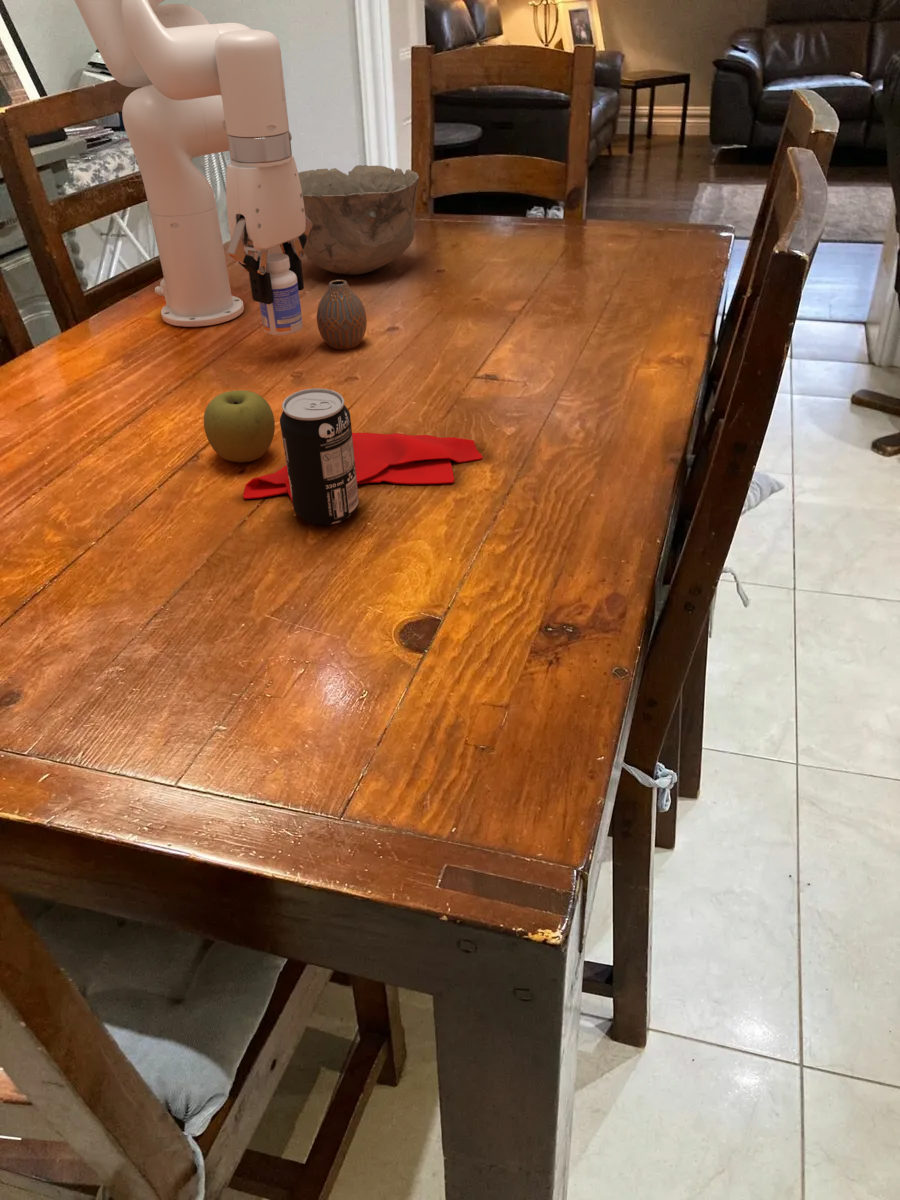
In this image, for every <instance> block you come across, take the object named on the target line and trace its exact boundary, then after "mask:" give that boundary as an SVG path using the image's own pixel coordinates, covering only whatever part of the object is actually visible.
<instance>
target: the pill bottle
mask: <svg viewBox="0 0 900 1200" xmlns="http://www.w3.org/2000/svg"><path fill="white" fill-rule="evenodd" d="M289 268H290V262H289V256H288V255H286V254H283V252H271V253H267V264H266V272H267V273H270V277H271V285H272V292H273V303H271V304H265V303H261V302H258V303H259V309H260V316H261V323H262V328H263V331H264V332H265V333H267V334H269V335H272V336H277V337H278V336H279V337H280V336H291V335H293V334H297V333H298V332H300V331H301V330H302V329H303V327H304V323H303V316H302V307H301V299H300V291H299V290H298V282H297V276H296V274H295V273H294V272H292V271H291V270H289Z"/></svg>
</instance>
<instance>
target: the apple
mask: <svg viewBox="0 0 900 1200" xmlns="http://www.w3.org/2000/svg"><path fill="white" fill-rule="evenodd" d="M203 413H204V414H203V429H204V433H205V435H206V439H207V442H208V443H209V444H210V447H211V448H212V450H214V451H215V453H216V454H217V455H219V456H220V457H221V458H222V459H224V460H226V461H228V462H234V463H249V462H253V461H256V460H258V459H260V458H261V457H262V456H264V455H265V453H266V452H267V451H268V450H269V449H270V447H271V445H272V443H273V440H274V436H275V431H276V422H275V421H276V420H275V416H274V412H273V409H272V407H271V406H270V404H269V403H268V401H267V400H266V399H265V398H264V397H263V396H262V395H260V394H258V393H256V392H255V391H252V390H244V389H243V390H240V389H239V390H229V391H225V392H222V393H220V394H218V395H216V396H215V397H213V398H212V400H210V401H209V402H208V404H207V406H206V408H205V410H204V412H203Z"/></svg>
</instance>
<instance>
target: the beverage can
mask: <svg viewBox="0 0 900 1200" xmlns="http://www.w3.org/2000/svg"><path fill="white" fill-rule="evenodd" d="M281 408H282V412H281V415H280V417H279V425H280V431H281V432H280V433H281V438H282V444H283V450H284V457H285V463H286V464H285V465H287V470H288V477H289V483H290V489H291V496H292V501H291V503H292V502H293V503H292V508H293V510H294V512H295V514H296V515H297V516H298V517H300V518H301V519H302V520H304V521H305V522H307V523H309V524H312V525H317V526H329V525H335V524H338V523H341V522H343V521H345V520H347V519H349V518H350V517H351V516H352V515H353V513H354V512H355V511H356V509H357V508H358V507H359V503H360V497H359V489H358V484H357V477H356V467H355V458H354V448H353V438H352V433H353V430H352V429H353V428H352V420H351V413H350V410H349V409H348V408H347V406H346V405H345V399H344V397H343V396H342V394H341V393H339V392H338V391H336V390H332V389H328V388H306V389H302V390H298V391H296V392H293V393H292V394H289V395H288V396H287V397H286V398H284V400H283V402H282V404H281Z"/></svg>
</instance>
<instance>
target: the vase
mask: <svg viewBox="0 0 900 1200" xmlns="http://www.w3.org/2000/svg"><path fill="white" fill-rule="evenodd" d="M367 322H368V321H367V311H366V309H365V306H364V303H363V301H362V300H361V299H360V297H359V296H358V295H357V294H356V293H355V292H354V291H353V290H352V288H351V287H350V285H349V283H348V282H347V280H344V279H335V280H331V281H329V283H328V286H327V288H326V291H325V292H324V294H323V296H322V297H321V299H320V301H319V303H318V305H317V310H316V324H317V329H318V332H319V334H320V337H321V338H322V340H323V341H324V342H325V343H326V344H327V346H329V347H330V348H331V349H336V350H350V349H353V348H355V347H357V346H359V345H360V343H361V342H362V341H363V339H364V338H365V335H366V331H367V327H368V325H367V324H368V323H367Z"/></svg>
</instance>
